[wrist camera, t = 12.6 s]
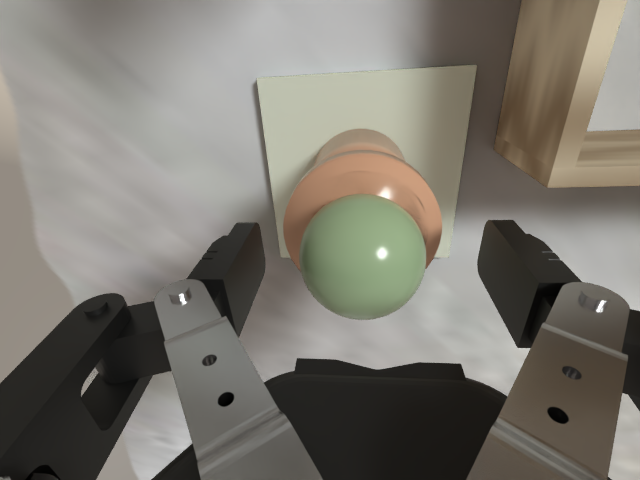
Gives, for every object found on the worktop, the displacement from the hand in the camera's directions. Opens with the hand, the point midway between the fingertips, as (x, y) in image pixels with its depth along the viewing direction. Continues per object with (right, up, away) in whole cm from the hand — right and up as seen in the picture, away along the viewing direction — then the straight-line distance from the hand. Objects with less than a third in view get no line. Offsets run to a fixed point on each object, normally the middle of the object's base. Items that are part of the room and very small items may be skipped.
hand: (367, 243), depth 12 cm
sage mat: (+1, +4, +8) cm, 9 cm away
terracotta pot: (+1, +4, +7) cm, 8 cm away
